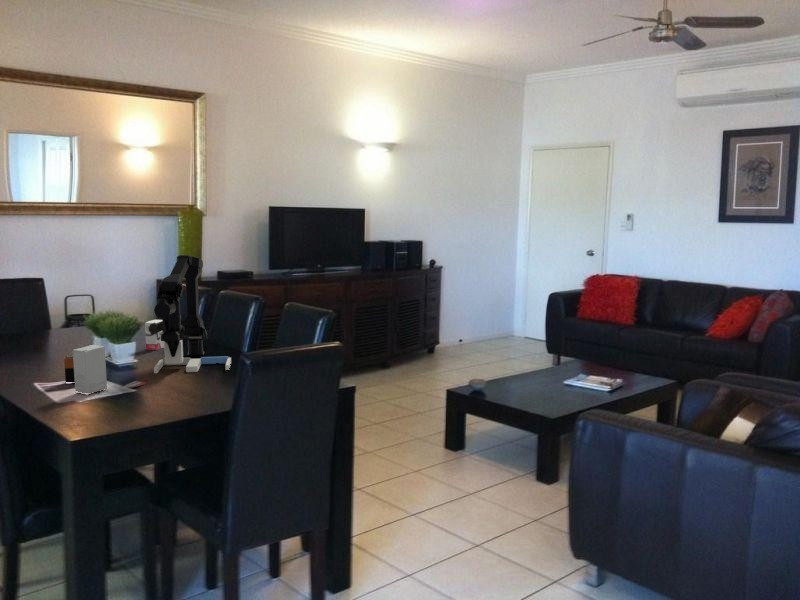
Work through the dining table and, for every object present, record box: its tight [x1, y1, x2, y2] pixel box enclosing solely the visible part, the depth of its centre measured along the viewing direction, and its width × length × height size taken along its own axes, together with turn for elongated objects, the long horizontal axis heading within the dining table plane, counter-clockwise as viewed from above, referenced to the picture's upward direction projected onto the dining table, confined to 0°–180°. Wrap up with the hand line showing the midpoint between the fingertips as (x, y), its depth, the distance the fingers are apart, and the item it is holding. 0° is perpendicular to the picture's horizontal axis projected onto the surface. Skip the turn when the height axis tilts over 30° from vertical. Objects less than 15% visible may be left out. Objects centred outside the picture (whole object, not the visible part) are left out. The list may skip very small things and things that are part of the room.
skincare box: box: [72, 344, 108, 393], centre depth 235 cm, size 8×6×15 cm
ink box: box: [144, 319, 164, 351], centre depth 307 cm, size 8×5×12 cm, turn 169°
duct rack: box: [153, 355, 232, 374], centre depth 271 cm, size 14×26×2 cm, turn 100°
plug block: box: [163, 339, 184, 364], centre depth 269 cm, size 4×6×8 cm, turn 100°
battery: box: [63, 353, 75, 383], centre depth 248 cm, size 4×7×10 cm, turn 110°
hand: (173, 355), depth 269 cm, fingers closed on plug block, 4 cm apart
